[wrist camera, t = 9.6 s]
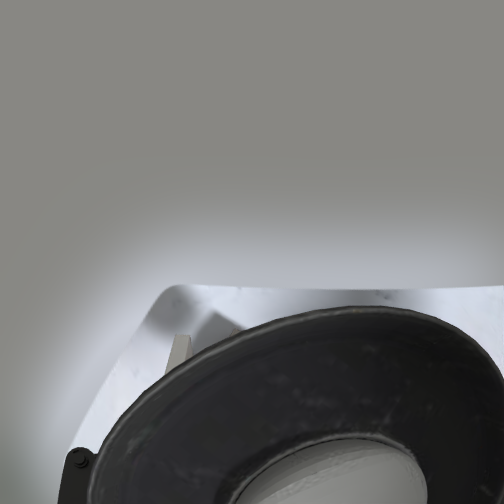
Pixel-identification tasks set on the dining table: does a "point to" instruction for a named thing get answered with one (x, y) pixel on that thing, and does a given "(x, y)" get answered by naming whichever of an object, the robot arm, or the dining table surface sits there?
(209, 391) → the travel mug
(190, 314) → the dining table surface
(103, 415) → the dining table surface
